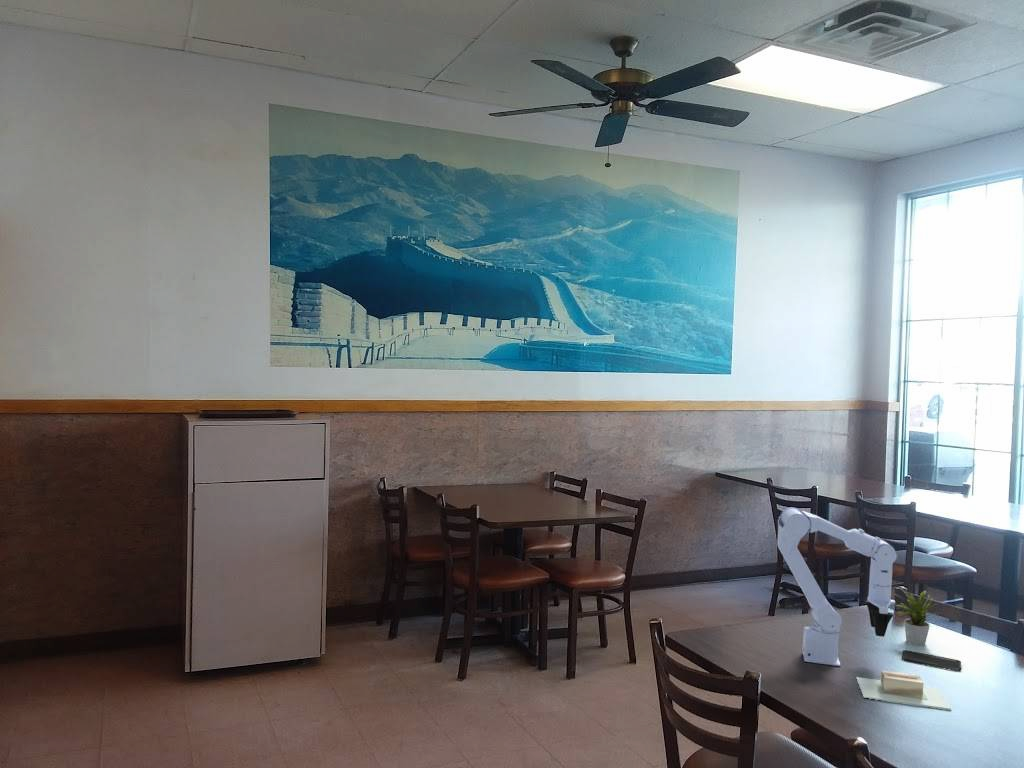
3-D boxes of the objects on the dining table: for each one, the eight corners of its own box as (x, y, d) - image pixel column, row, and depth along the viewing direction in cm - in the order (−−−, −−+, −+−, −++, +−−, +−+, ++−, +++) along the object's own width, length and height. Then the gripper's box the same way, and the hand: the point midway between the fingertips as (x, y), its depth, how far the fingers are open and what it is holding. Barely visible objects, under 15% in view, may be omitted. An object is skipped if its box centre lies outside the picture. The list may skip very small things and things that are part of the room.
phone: (903, 649, 238) (961, 660, 231) (902, 653, 238) (960, 664, 231) (901, 657, 231) (961, 669, 224) (901, 661, 231) (960, 673, 224)
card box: (922, 698, 204) (923, 682, 204) (883, 693, 206) (884, 677, 206) (918, 690, 209) (919, 675, 209) (880, 685, 211) (881, 670, 211)
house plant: (894, 629, 258) (897, 579, 257) (943, 640, 250) (946, 588, 249) (885, 642, 246) (888, 589, 245) (935, 653, 238) (939, 598, 237)
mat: (863, 698, 204) (863, 696, 204) (856, 678, 216) (856, 676, 216) (951, 710, 199) (951, 708, 199) (938, 689, 211) (938, 687, 211)
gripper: (901, 592, 219) (898, 641, 219) (890, 578, 233) (888, 624, 233) (872, 589, 220) (870, 638, 221) (864, 575, 234) (861, 621, 235)
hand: (877, 631), depth 227 cm, fingers open, 7 cm apart
